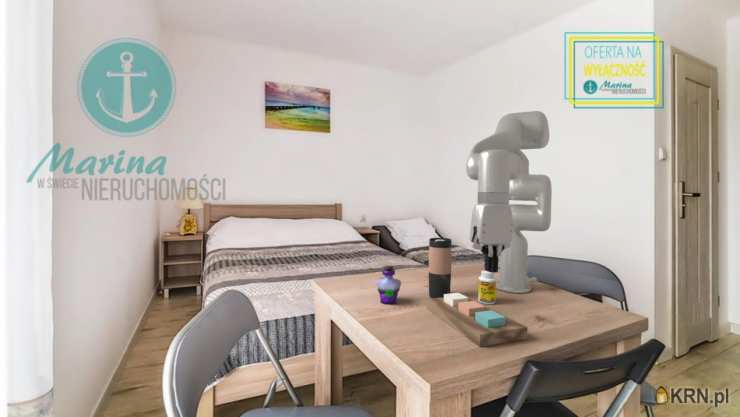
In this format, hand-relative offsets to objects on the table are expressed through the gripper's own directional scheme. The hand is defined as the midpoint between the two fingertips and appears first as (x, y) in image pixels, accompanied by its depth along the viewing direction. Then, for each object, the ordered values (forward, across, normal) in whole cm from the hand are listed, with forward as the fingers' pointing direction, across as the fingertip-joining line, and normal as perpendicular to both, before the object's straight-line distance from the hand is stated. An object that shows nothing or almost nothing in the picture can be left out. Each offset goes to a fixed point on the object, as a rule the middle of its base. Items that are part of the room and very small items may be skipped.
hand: (491, 271), depth 88 cm
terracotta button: (+14, 0, -8) cm, 17 cm away
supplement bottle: (+16, -15, -21) cm, 31 cm away
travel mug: (+16, -3, -31) cm, 35 cm away
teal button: (+14, 0, 0) cm, 14 cm away
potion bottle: (+17, +16, -31) cm, 39 cm away
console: (+16, 0, -8) cm, 18 cm away
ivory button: (+14, 0, -16) cm, 22 cm away
